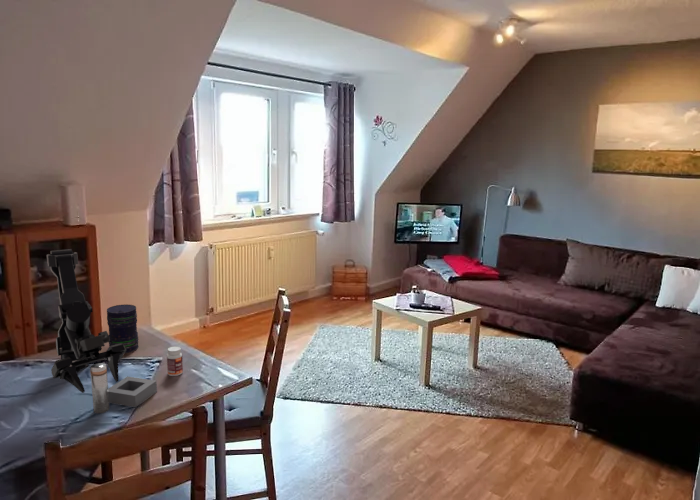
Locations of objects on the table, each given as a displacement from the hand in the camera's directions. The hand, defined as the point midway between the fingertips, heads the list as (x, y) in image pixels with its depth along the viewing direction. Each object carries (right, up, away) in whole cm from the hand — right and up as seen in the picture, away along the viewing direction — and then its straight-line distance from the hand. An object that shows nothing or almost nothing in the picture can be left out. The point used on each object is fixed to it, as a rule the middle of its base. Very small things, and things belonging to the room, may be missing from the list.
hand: (100, 386), depth 146 cm
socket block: (+4, -6, +10) cm, 12 cm away
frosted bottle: (-1, -7, +2) cm, 7 cm away
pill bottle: (+12, -3, +26) cm, 29 cm away
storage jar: (-13, +2, +46) cm, 47 cm away
